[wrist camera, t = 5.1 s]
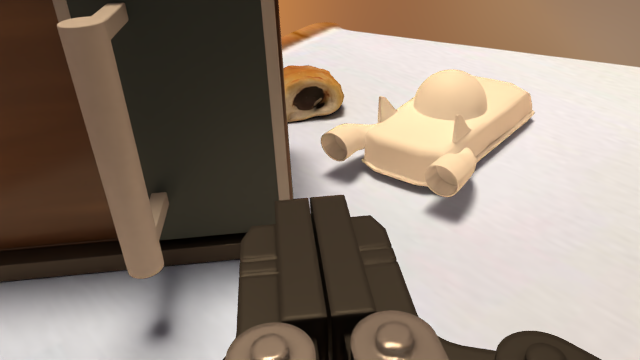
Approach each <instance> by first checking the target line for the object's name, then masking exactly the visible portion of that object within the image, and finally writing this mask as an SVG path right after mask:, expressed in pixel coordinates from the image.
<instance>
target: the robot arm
mask: <svg viewBox="0 0 640 360" xmlns="http://www.w3.org/2000/svg"><path fill="white" fill-rule="evenodd" d="M274 203H275V222H276V224H270V225H259V226H251V227H250V229H249V230H248V232H247V233H246V235H245V236H244V238H243V239H242V241H241V247H240V269H239V276H240V277H239V291H238V314H237V333H236V339H235V340H234V341H233V342H232V344H231V345H230V347H229V349H228V351H227V354H226V357H225V358H224V359H223V360H601V359H599V358H597V357H596V356H594V355H592V354H590V353H588V352H586V351H584V350H582V349H581V348H579V347H577V346H575V345H573V344H571V343H569V342H568V341H566V340H564V339H562V338H559V337H557V336H554V335H551V334H548V333H544V332H538V331H522V332H517V333H514V334H511V335H509V336H507V337H506V338H504V339H503V340H502V341H501V342H500V344H499V345H498V347H497V350H496V351H493V350H486V349H480V348H474V347H467V346H462V345H458V344H454V343H451V342H449V341H446V340H444V339H442V338H440V337H438V336H437V335H436V333H435V331H434V330H433V329H432V327H431V326H430V325H429V324H428V323H426V322H425V321H424V320H422V319H421V318H419V317H418V315H417V313H416V310H415V307H414V305H413V302H412V299H411V297H410V294H409V291H408V289H407V286H406V283H405V280H404V278H403V275H402V272H401V270H400V267H399V264H398V262H397V261H396V256H395V254H394V251H393V248H391V243H390V240H389V237H388V235H387V232H386V229H385V228H384V227H383V226H382V225H381V224H379V223H378V222H377V221H376V220H375V219H374V218H373V217H372V216H370V215H369V216H358V217H350V214H349V210H348V207H347V203H346V200H345V196H344V195H334V196H323V197H311V198H310V208H309V202H308V198H301V199H290V200H278V201H274ZM310 209H311V214H310Z"/></svg>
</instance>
